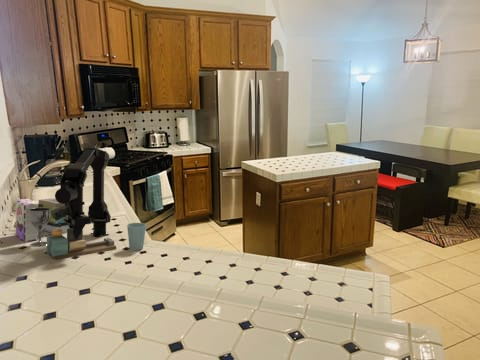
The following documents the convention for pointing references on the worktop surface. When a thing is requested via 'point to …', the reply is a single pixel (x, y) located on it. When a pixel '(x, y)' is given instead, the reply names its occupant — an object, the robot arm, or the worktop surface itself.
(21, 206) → the candy box
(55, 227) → the tea box
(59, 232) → the button
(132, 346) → the worktop surface
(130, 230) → the cup
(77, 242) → the carriage
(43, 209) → the wine glass
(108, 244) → the rail
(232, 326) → the worktop surface
